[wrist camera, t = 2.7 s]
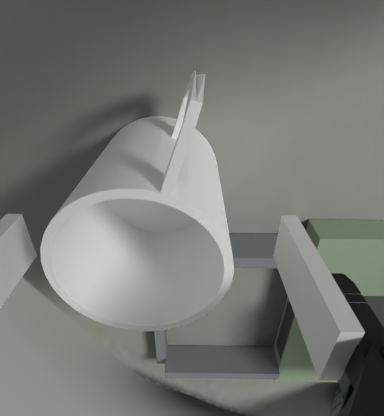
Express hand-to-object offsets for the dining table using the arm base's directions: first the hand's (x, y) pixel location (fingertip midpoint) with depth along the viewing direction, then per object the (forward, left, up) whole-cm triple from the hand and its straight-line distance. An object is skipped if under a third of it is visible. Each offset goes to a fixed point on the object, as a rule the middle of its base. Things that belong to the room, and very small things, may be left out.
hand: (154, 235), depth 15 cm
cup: (-2, 0, -7) cm, 8 cm away
